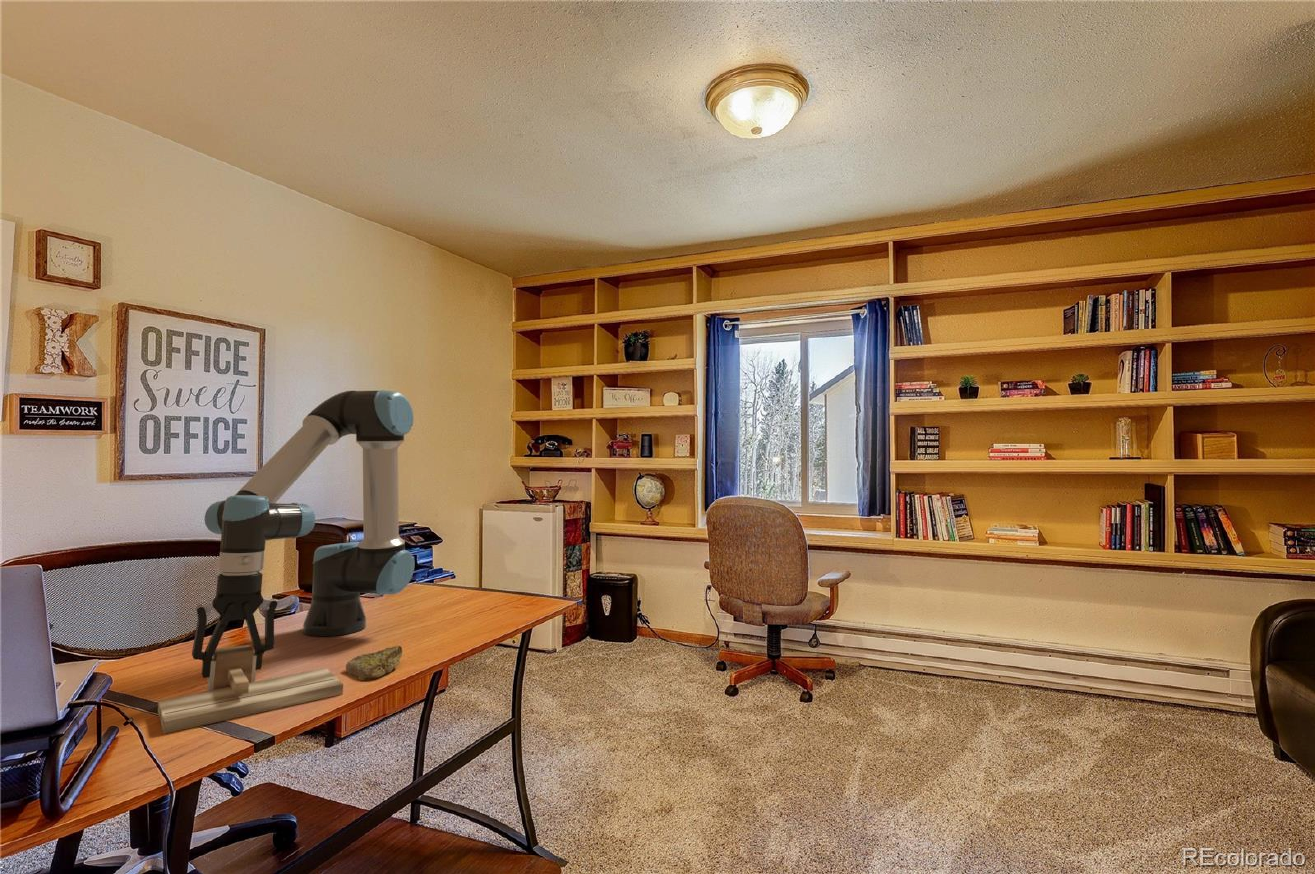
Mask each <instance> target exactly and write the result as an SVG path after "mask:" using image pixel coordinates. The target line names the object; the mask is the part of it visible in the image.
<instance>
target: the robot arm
mask: <svg viewBox="0 0 1315 874" xmlns="http://www.w3.org/2000/svg"><path fill="white" fill-rule="evenodd" d="M414 417H415V416H414V412H413V408H412V405H411V403H410V401H409V400H408V399H407V397H406V396H405V395H404V394H403V393H400V392H398V391H394V390H393V391H392V390H386V389H383V390H382V389H381V390H346V391H342V392H339V393H337V394H334V395H333V396H331V397H329V398H327V399H326V400H324V401H323V402H321V403H320V404H318V405H317V406H315V408H314V409H312V411H310V413H308V414H307V415H306V417H304V418H303V419H302V423H301V424H302V426H301V427H300V428H299V429H298V430H297V431H296V432H295V433H294V435H293V436H291V438H289V439H288V440H287V441H286V442H285V444H284V445H282V446H281V447H280V449H278V451H277V452H275V454H274V455H272V457H271V458H270V459H268V460H267V462H265V464H263V466H261V468H260V469H259V470H258V471H257V472H255V474H254V475H253V476H252V477H251V478H250V479H249V480H248V481H247V482H246V483H245V484H244V485H243V486H242V487H241V488H240V489H239V490H238V491H237V492H236V493H235V494H234V495H230V496H228V497H227V498H226V499H224V500H219V501H216V502H214V503H211V504H210V505H209V507H208V508H207V510H206V512H205V514H204V524H205V526H206V528H207V529H208V530H209V531H210V532H211V533H213V534H216V535H221V536H220V548H219V550H220V551H219V558H218V559H219V560H218V569H217V571H218V572H219V573H220V574H218V575H217V578H216V579H217V580H216V593H215V597H214V599H213V600H212V602H211V603H207V604H204V605H201V604H200V605H197V606H196V607H195V611H196V614H197V621H196V626H195V634H194V638H193V639H194V640H193V643H192V644H193V645H192V651H191V656H192V658H193V660H199V661H202V665H201V666H202V667H201V675H202V679H207V682H206V684H207V685H206V691H209V690H213V689H214V677H215V666H216V660H215V658H213V655H214V653H215V650H216V649H218V645H219V643H220V641H221V639H222V637H223V634H224V632H225V630H226V627H227V626H228V625H229V622H233V621H236V620H237V621H238V620H242V621H243V620H245V623H246V625H247V629H248V633H249V636H250V640H251V643H252V646H253V647H252V648H253V650H254V654H253V666H252V677H251V682H256V681H255V678H256V671H259V670H261V669H262V664H263V657H264V656H263V655H264V654H265V653H266V652H267V651H270V650H271V651H272V650H273V649H274V648H275V647H274V646H275V612H276V609H277V607H278V605H279V603H278V601H277V600H276V599H273V598H271V599H267V598H264V597H263V595H262V586H263V573H262V570H263V569H264V561H265V559H264V558H265V550H266V541H271V540H282V539H283V540H284V539H296V538H299V537H305V536H307V535H309V534H310V533H311V532H312V531H313V529H314V527H315V525H316V524H315V523H316V516H315V512H314V510H313V508H312V507H311V506H310V505H308V504H305V503H297V502H291V503H277V502H278V501H279V500H280V499H281V497H282V496H283V495H284V494H286V492H287V491H288V490H289V489H290V487H291V486H292V485H293V484H294V483H295V482H296V481H297V480H298V479H299V478H300V477H301V476H302V474H303V473H304V472H305V471H306V470H307V469H308V468H309V467H310V466H311V465H312V463H313V462H314V461H315V460H316V459H317V458H318V457H319V456H320V455H321V454H322V452H323V451H324V450H326V448H327V447H328V445H329V446H330V445H335V444H336V443H337V442H338V441H339V440H340V439H341V438H343V437H345V436H349V435H355V438H356V439H355V440H356V441H355V442H356V443H357V444H358V445H359V446H360V447H361V448H362V501H363V502H362V503H363V504H362V506H363V509H362V510H363V511H362V512H363V516H362V517H363V518H362V519H363V538H362V539H361V540H360V541H350V542H349V541H348V542H343V543H341V542H339V543H334V544H333V543H332V544H327V545H321V546H319V547H317V548H316V549H315V550H314V554H313V561H312V587H311V588H312V591H311V592H312V593H311V594H312V595H311V603H310V606H309V609H308V611H307V614H306V617H305V618H304V621H303V625H302V626H303V631H302V632H303V634H304V635H307V636H312V637H336V636H341V635H348V634H353V633H356V632H359V631H362V630H364V629H365V628H367V618H366V614H365V611H364V607H363V604H362V601H361V593H363V594H375V595H380V596H384V595H397V594H399V593H401V592H402V591H403V590H404V589H406V587H407V586H408V584H410V582H411V580H412V577H413V574H414V572H415V562H416V561H415V556H414V555H413V554H412V552H410V551H409V550H406V543H405V542H406V541H405V540H404V539H403V538H402V537H401V536H400V533H399V532H400V531H399V527H400V526H399V524H400V523H399V447H400V446H401V445H402V444H403V443H404V442H405V436H406V435H407V434H408V433H409V432H411V430H412V427H413V425H414ZM261 605H262V606H263V607H262V608H263V609H264V643H262V640H261V637H260V634H259V630H258V627H257V623H256V619H255V616H254V613H256V611H257V610H258V609H259V608H260V606H261ZM212 610H215V611H216V612H217V613H218V615H219V618H218V619H217V622H216V623H217V624H216V626H215V628H214V630H213V631H212V633H211V634H212V635H211V636H210V638H209V640H208V643H207V646H206V648H205V649H204V651H203V646H204V641H205V640H204V639H205V634H206V628H207V621H208V619H207V617H209V616H210V615H211V613H212ZM363 628H364V629H363Z"/></svg>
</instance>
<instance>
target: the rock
mask: <svg viewBox="0 0 1315 874" xmlns="http://www.w3.org/2000/svg"><path fill="white" fill-rule="evenodd" d="M402 656H403V648H402V646H401V645H395V646H392V647H386V648H384V649H382V650H378V651H375V652H370V653H363V654H361V655H360V654H359V655H357V656H355V657H354V658H352V659H350V660H349V661H347V663H346V664H345V670H346V671H345V672H346V674H348V675H351V676H355V678H357V679H358V680H361V681H366V680H372V679H378V678H379V677H382V676H384V675H386V674H389V673H391V672H392V671H393V670H394V669H395V668H396V667H398V666H399V665H400V660H401V658H402Z"/></svg>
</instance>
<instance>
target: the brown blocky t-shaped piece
mask: <svg viewBox="0 0 1315 874" xmlns="http://www.w3.org/2000/svg"><path fill="white" fill-rule="evenodd" d="M254 653H255V650H254V648H253V647H252V646H251V645H250V644H246V645H237V646H229V647H221V648H216V650H215V653H214V655H213V657H212V658H215V660H216V666H215V677H214V689H213V690H215V689H220V688H225V687H230V686H231V688H232V690H233V692H234V694H235V695H238V696H243V694H245V693H248V691H249V683H251V677H252V666H253V654H254Z"/></svg>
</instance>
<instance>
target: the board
mask: <svg viewBox="0 0 1315 874" xmlns="http://www.w3.org/2000/svg"><path fill="white" fill-rule="evenodd" d="M343 694H344V683H343V682H342V681H341V680H340V679H339V678H338V677H336V675H335V674H333V673H332V672H331V671H330V670H329V669H328V668H327V667H325V668H319V669H314V670H308V671H304V672H298V673H293V674H288V675H284V676H283V675H282V676H277V677H272V678H267V679H262V680H257V681H254V682H251V683H249V691H248V693H245V694H243V696H238V695H235V694H234V692H233V690H232V688H231V686H230V687H225V688H220V689H215V690H209V691H207V690H205V691H200V692H194V693H190V694H184V695H180V696H174V697H168V698H165V699H159V700H157V714H158V718H159V721H160V724H161V725H160V726H161V729H162V733H163V735H166V734H170V733H174V732H179V731H183V730H187V729H192V728H196V727H200V726H201V727H202V726H206V725H210V724H215V723H218V722H224V721H227V720H233V719H236V718H241V717H245V716H251V715H254V714H259V713H264V712H268V711H272V710H277V709H281V708H287V707H292V706H295V705H300V704H303V703H309V702H313V701H317V700H322V699H326V698H331V697H336V696H340V695H343Z"/></svg>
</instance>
